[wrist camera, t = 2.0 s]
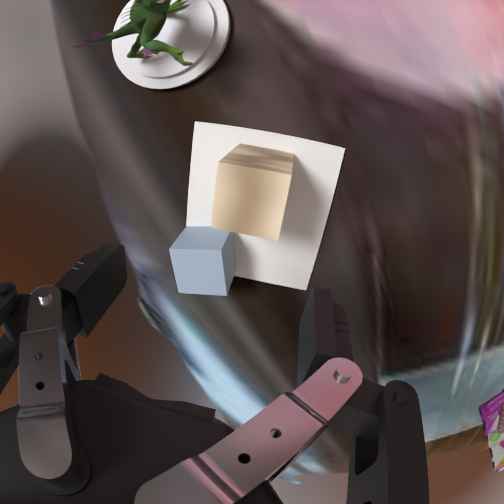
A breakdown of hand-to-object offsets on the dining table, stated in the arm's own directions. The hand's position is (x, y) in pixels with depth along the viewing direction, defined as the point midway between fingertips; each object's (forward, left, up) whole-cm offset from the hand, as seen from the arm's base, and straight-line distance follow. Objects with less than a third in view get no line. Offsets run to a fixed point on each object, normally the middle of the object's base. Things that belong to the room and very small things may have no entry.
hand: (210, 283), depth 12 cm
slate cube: (+4, +9, -18) cm, 21 cm away
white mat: (0, +4, -18) cm, 19 cm away
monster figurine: (+11, -13, -19) cm, 25 cm away
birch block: (0, 0, -18) cm, 18 cm away
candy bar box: (-57, +31, -18) cm, 68 cm away
